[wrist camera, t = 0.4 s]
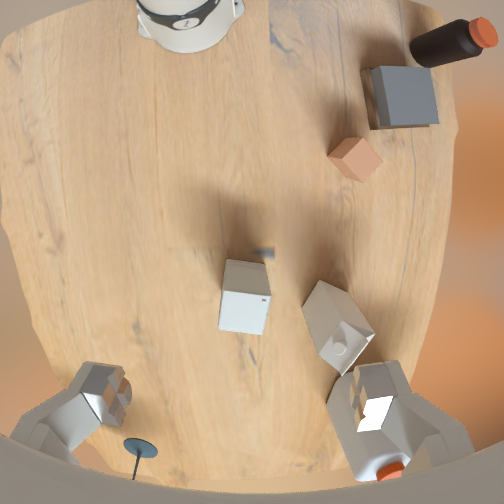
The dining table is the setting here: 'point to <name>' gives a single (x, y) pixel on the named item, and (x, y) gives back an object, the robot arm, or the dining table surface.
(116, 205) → the dining table surface
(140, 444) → the cocktail glass
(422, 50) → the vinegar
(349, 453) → the plastic bottle
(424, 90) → the tower top block
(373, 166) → the terracotta block
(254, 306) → the supplement box
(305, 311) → the milk carton
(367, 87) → the tower base block
